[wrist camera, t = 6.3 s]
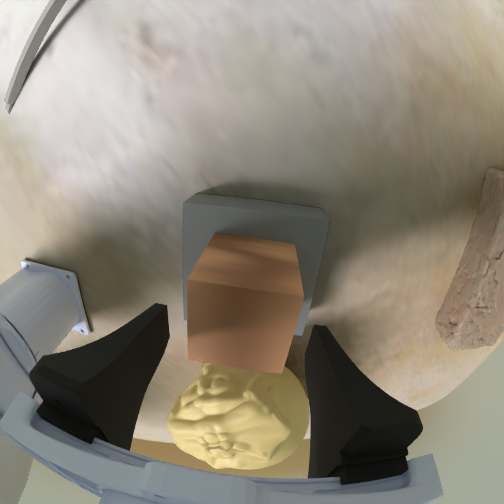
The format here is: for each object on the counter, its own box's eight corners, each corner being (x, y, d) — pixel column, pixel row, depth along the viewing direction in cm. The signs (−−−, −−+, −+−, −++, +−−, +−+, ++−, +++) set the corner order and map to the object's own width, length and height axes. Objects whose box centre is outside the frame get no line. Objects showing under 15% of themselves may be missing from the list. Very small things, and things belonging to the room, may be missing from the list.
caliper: (128, -47, 10) (97, -74, 4) (133, -45, 10) (103, -73, 4) (8, 109, 16) (-34, 113, 11) (11, 113, 17) (-31, 118, 11)
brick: (483, 163, 16) (517, 173, 12) (526, 190, 16) (555, 203, 11) (427, 323, 23) (446, 353, 18) (475, 325, 23) (493, 350, 18)
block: (210, 299, 19) (188, 359, 13) (214, 232, 17) (187, 279, 11) (281, 309, 19) (281, 373, 13) (294, 243, 17) (303, 296, 11)
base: (193, 298, 23) (184, 320, 20) (196, 193, 19) (183, 202, 16) (299, 312, 22) (302, 335, 20) (321, 208, 19) (330, 220, 16)
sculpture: (264, 315, 23) (256, 424, 13) (323, 387, 26) (333, 473, 16) (171, 357, 26) (136, 442, 16) (238, 415, 29) (227, 489, 20)
